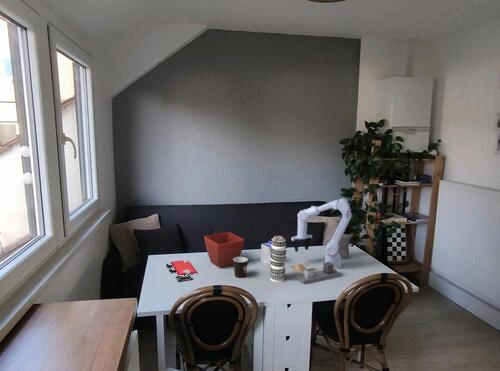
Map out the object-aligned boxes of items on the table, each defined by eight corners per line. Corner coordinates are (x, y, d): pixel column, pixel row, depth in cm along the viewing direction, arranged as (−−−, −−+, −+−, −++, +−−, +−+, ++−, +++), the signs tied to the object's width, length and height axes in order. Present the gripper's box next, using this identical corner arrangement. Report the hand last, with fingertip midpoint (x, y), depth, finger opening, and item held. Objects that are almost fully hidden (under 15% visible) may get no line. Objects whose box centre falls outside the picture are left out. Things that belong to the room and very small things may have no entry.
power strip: (331, 272, 207) (331, 266, 206) (340, 277, 200) (340, 271, 199) (295, 279, 195) (295, 274, 195) (303, 285, 188) (303, 279, 188)
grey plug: (308, 278, 197) (309, 265, 196) (313, 281, 194) (313, 267, 193) (302, 279, 196) (303, 266, 194) (307, 282, 192) (307, 268, 191)
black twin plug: (328, 274, 203) (329, 261, 202) (332, 277, 200) (333, 264, 198) (323, 275, 201) (323, 262, 200) (327, 278, 198) (328, 265, 197)
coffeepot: (335, 259, 227) (337, 233, 225) (331, 254, 237) (332, 229, 234) (358, 259, 229) (359, 233, 226) (353, 254, 238) (354, 229, 235)
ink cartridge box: (277, 264, 217) (277, 242, 215) (270, 266, 214) (271, 244, 212) (266, 260, 225) (267, 239, 223) (260, 262, 221) (260, 240, 219)
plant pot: (244, 264, 216) (245, 239, 214) (218, 271, 206) (218, 244, 203) (229, 255, 232) (229, 231, 229) (203, 261, 221) (203, 236, 218)
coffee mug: (236, 279, 194) (237, 263, 192) (230, 274, 202) (230, 258, 200) (254, 276, 199) (255, 259, 198) (248, 270, 207) (248, 255, 205)
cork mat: (305, 264, 219) (305, 263, 219) (317, 271, 208) (317, 270, 208) (289, 267, 213) (289, 266, 213) (300, 274, 203) (300, 273, 203)
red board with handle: (174, 283, 189) (201, 279, 195) (174, 278, 189) (201, 274, 195) (164, 264, 216) (187, 261, 222) (164, 260, 216) (187, 257, 222)
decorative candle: (273, 274, 202) (274, 233, 198) (288, 278, 197) (289, 236, 194) (266, 280, 194) (267, 237, 191) (281, 283, 190) (282, 240, 186)
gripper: (307, 226, 221) (307, 246, 224) (289, 229, 215) (288, 249, 217) (314, 229, 215) (313, 250, 217) (295, 232, 209) (294, 253, 211)
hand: (301, 250), depth 217 cm, fingers open, 7 cm apart
